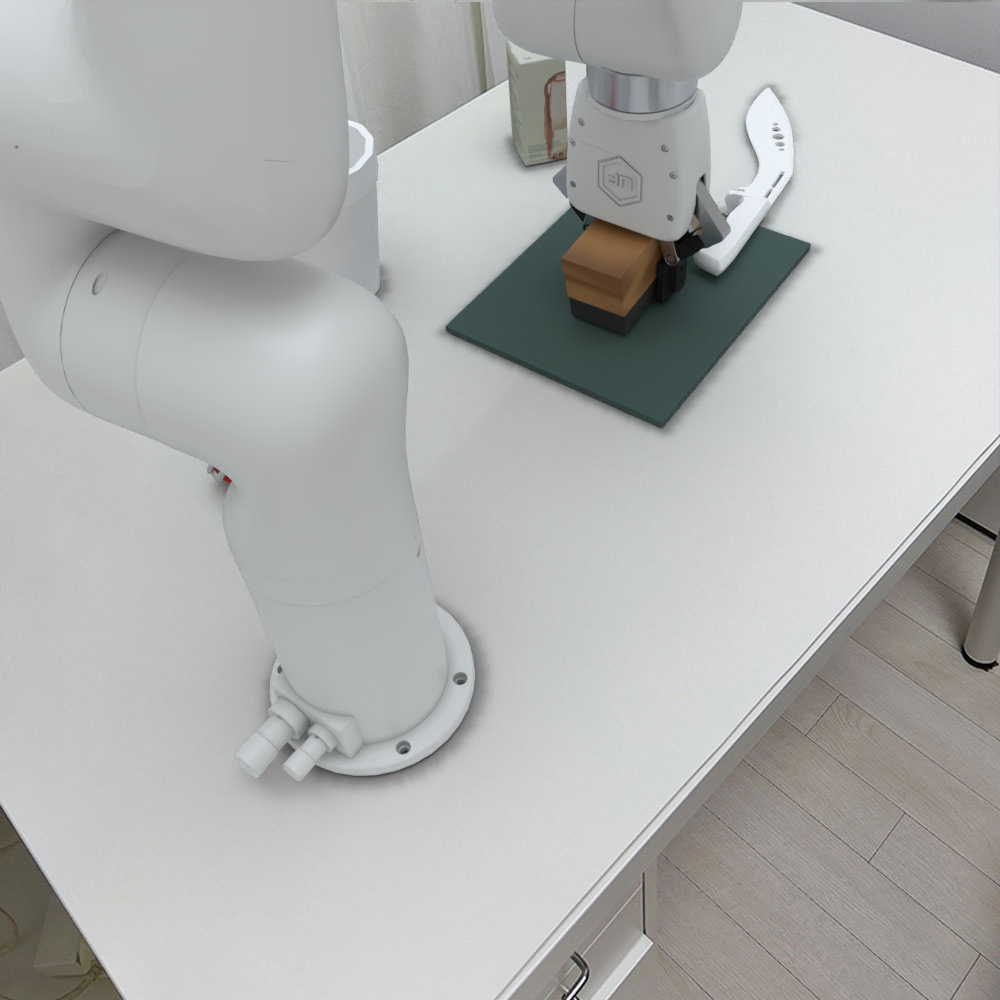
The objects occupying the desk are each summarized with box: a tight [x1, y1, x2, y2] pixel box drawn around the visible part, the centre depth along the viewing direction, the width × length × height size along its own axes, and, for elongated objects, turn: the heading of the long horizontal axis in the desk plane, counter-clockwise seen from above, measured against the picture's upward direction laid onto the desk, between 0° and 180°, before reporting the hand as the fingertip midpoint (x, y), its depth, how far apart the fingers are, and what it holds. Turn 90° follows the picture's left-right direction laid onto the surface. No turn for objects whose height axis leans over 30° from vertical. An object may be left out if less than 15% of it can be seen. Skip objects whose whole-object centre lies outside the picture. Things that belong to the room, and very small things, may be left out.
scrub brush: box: [561, 214, 701, 335], centre depth 86 cm, size 12×5×6 cm, turn 145°
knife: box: [693, 86, 795, 276], centre depth 98 cm, size 30×2×8 cm
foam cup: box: [293, 119, 381, 296], centre depth 88 cm, size 10×9×13 cm
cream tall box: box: [505, 38, 569, 167], centre depth 100 cm, size 5×4×10 cm
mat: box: [445, 206, 812, 429], centre depth 90 cm, size 24×20×1 cm
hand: (636, 279), depth 89 cm, fingers closed on scrub brush, 5 cm apart
